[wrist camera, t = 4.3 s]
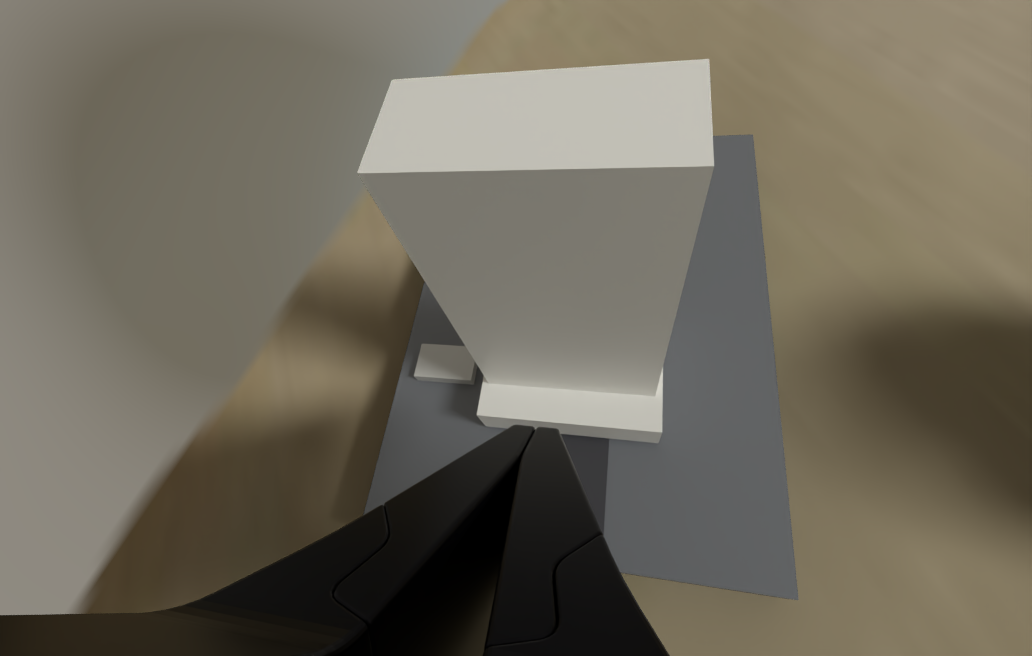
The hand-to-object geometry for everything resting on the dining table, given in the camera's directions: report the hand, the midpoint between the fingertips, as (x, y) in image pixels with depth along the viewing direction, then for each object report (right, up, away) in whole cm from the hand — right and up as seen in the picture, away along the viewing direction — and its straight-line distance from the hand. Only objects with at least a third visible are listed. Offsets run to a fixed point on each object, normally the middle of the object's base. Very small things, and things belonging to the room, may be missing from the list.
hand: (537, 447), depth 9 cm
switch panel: (+2, +2, +9) cm, 10 cm away
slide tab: (+1, +1, +6) cm, 7 cm away
